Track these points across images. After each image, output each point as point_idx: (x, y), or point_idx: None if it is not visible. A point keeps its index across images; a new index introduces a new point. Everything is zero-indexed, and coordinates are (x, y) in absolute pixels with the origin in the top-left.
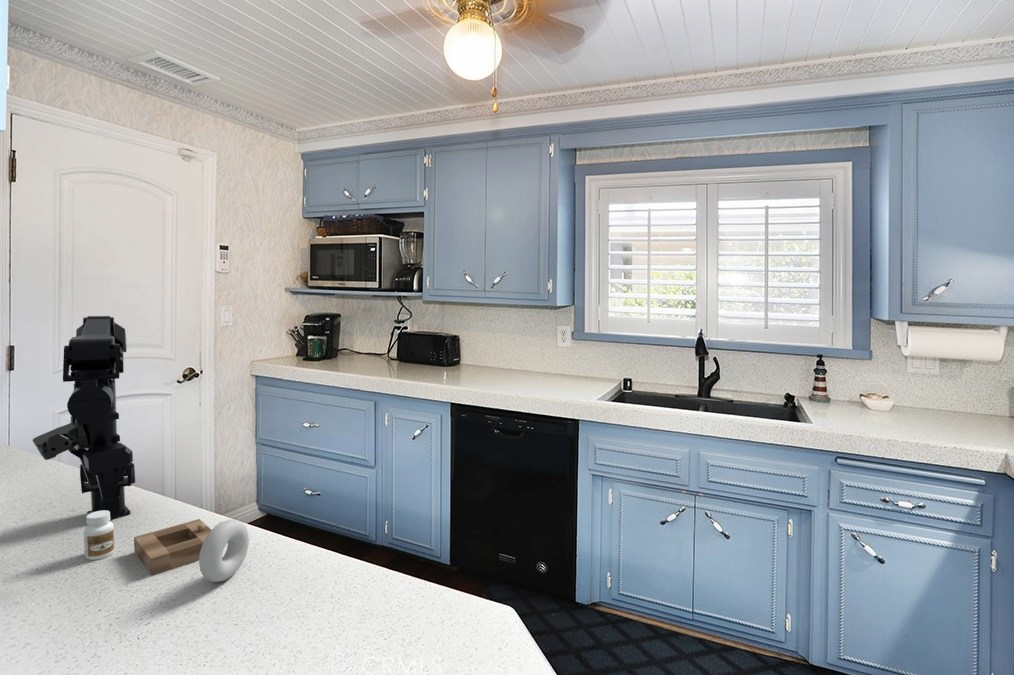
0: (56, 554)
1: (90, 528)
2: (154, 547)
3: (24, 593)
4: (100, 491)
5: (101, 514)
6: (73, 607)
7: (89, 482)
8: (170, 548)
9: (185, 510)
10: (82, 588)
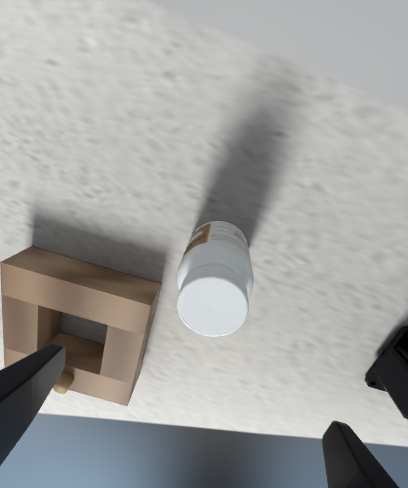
0: (318, 198)
1: (206, 261)
2: (54, 295)
3: (166, 51)
4: (5, 381)
5: (197, 311)
6: (5, 90)
7: (344, 440)
8: (23, 306)
9: (266, 423)
10: (81, 145)
